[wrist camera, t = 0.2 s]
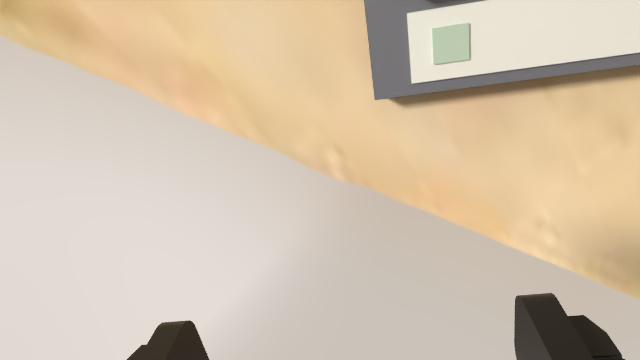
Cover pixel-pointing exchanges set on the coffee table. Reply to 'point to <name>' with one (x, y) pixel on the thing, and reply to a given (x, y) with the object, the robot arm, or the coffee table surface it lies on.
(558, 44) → the button board
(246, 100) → the coffee table surface
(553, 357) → the robot arm
